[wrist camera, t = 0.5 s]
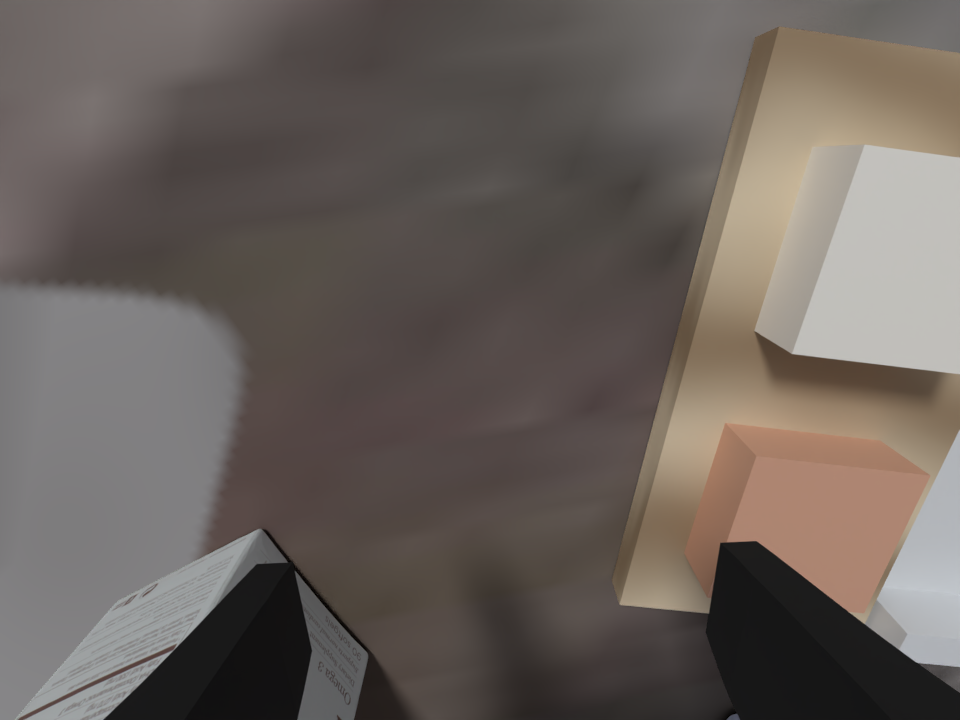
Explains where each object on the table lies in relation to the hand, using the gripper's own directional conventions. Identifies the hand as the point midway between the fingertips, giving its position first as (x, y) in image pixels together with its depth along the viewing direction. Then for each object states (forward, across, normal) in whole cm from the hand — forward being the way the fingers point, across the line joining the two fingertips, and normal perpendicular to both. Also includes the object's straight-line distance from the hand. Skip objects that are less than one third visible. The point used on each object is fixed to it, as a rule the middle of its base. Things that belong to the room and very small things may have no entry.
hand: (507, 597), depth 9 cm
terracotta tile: (+7, -9, +4) cm, 13 cm away
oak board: (+9, -10, 0) cm, 13 cm away
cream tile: (+8, -11, -4) cm, 14 cm away
